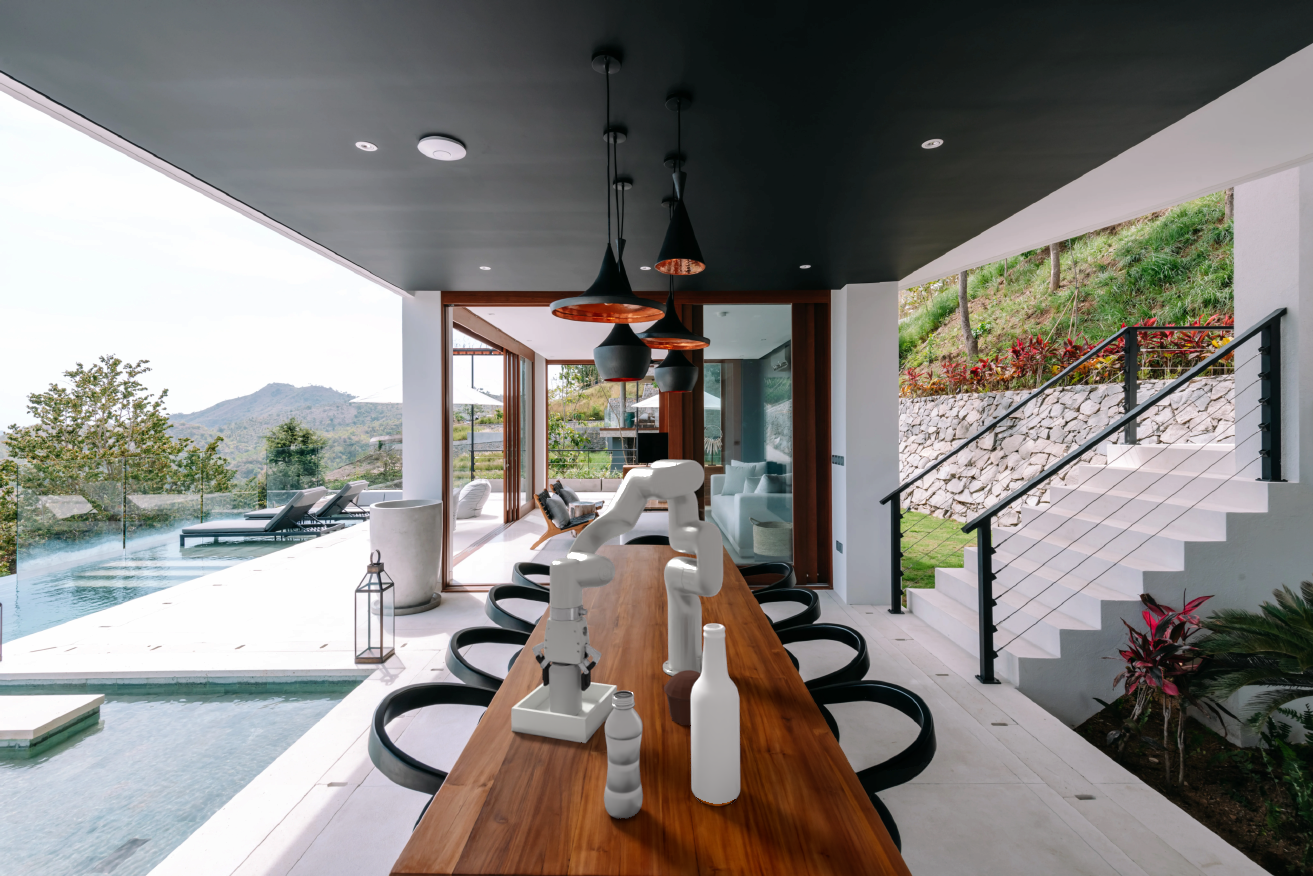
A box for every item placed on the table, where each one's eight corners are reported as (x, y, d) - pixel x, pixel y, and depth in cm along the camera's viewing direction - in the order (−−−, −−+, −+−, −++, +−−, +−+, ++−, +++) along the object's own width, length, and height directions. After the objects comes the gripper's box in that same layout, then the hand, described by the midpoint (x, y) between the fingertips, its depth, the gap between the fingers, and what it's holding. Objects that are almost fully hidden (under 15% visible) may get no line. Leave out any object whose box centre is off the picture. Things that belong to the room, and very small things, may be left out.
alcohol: (705, 813, 96) (704, 636, 97) (683, 785, 104) (681, 622, 105) (749, 800, 100) (748, 630, 100) (724, 774, 108) (722, 616, 109)
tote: (616, 706, 137) (616, 685, 137) (585, 743, 120) (585, 719, 120) (550, 697, 142) (550, 677, 143) (511, 731, 125) (511, 708, 125)
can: (577, 721, 127) (575, 667, 127) (545, 719, 128) (544, 666, 129) (586, 706, 135) (584, 655, 135) (556, 705, 136) (554, 654, 136)
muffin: (688, 701, 140) (688, 660, 140) (723, 716, 132) (722, 673, 132) (653, 717, 131) (653, 674, 132) (689, 734, 123) (688, 688, 124)
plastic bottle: (604, 801, 100) (603, 687, 100) (642, 799, 100) (641, 686, 101) (603, 826, 93) (603, 704, 94) (644, 823, 94) (643, 702, 94)
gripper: (606, 611, 133) (607, 684, 132) (541, 605, 138) (541, 676, 137) (593, 620, 125) (593, 698, 125) (525, 613, 131) (525, 688, 130)
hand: (566, 686), depth 131 cm, fingers open, 9 cm apart
